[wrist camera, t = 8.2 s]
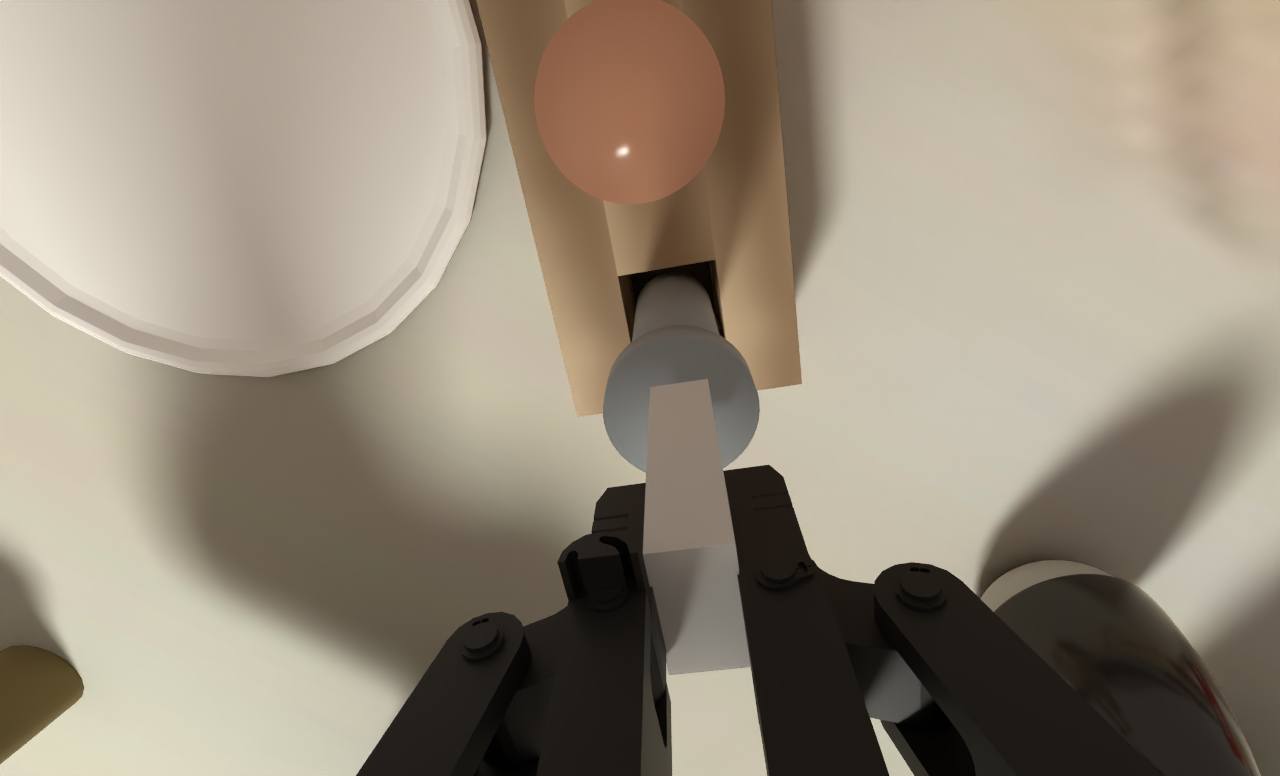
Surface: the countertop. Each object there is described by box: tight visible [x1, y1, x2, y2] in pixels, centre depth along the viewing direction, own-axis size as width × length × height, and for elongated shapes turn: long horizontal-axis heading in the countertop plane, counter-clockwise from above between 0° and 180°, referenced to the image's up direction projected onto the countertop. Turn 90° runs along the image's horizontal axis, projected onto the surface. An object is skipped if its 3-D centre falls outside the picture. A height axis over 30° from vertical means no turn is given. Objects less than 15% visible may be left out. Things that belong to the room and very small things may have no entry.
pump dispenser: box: [981, 560, 1261, 776], centre depth 32 cm, size 10×10×15 cm
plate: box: [0, 0, 487, 377], centre depth 28 cm, size 29×29×1 cm
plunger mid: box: [534, 0, 725, 204], centre depth 19 cm, size 4×4×10 cm
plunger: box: [603, 272, 760, 472], centre depth 22 cm, size 4×4×10 cm
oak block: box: [476, 0, 802, 417], centre depth 25 cm, size 10×24×6 cm, turn 10°
